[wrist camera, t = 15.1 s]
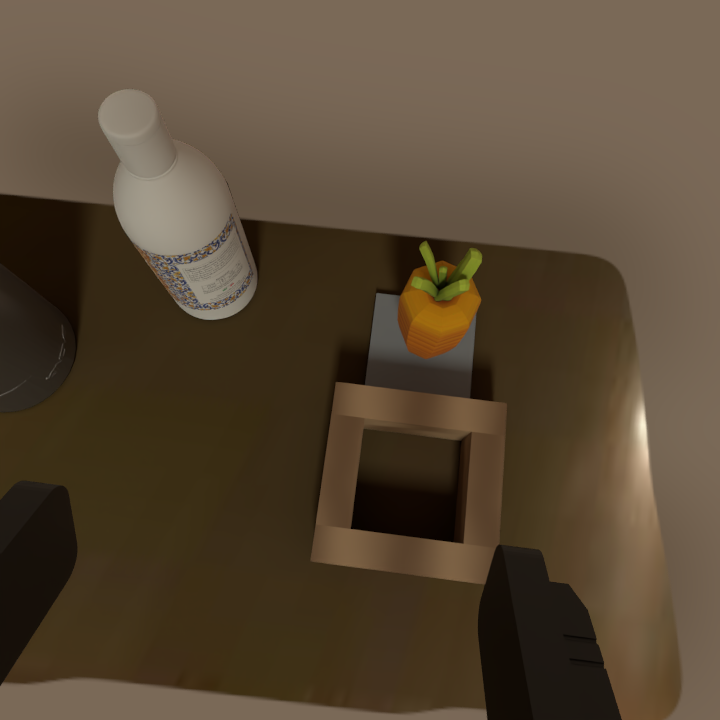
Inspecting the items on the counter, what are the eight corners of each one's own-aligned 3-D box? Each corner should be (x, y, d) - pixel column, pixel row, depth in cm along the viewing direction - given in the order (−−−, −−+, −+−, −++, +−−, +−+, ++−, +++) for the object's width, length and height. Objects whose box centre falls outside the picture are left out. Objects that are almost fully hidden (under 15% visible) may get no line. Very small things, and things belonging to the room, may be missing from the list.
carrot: (387, 378, 45) (405, 304, 31) (390, 317, 47) (408, 219, 32) (453, 382, 45) (500, 310, 31) (454, 321, 47) (500, 225, 32)
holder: (314, 559, 42) (310, 561, 38) (337, 394, 46) (335, 381, 42) (483, 581, 42) (496, 586, 38) (493, 414, 45) (507, 403, 41)
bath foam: (169, 249, 49) (53, 62, 30) (253, 238, 49) (193, 46, 30) (175, 327, 47) (54, 182, 28) (263, 315, 47) (204, 163, 28)
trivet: (363, 391, 46) (364, 390, 45) (376, 295, 48) (376, 293, 47) (468, 405, 45) (469, 403, 45) (475, 308, 48) (476, 305, 47)
